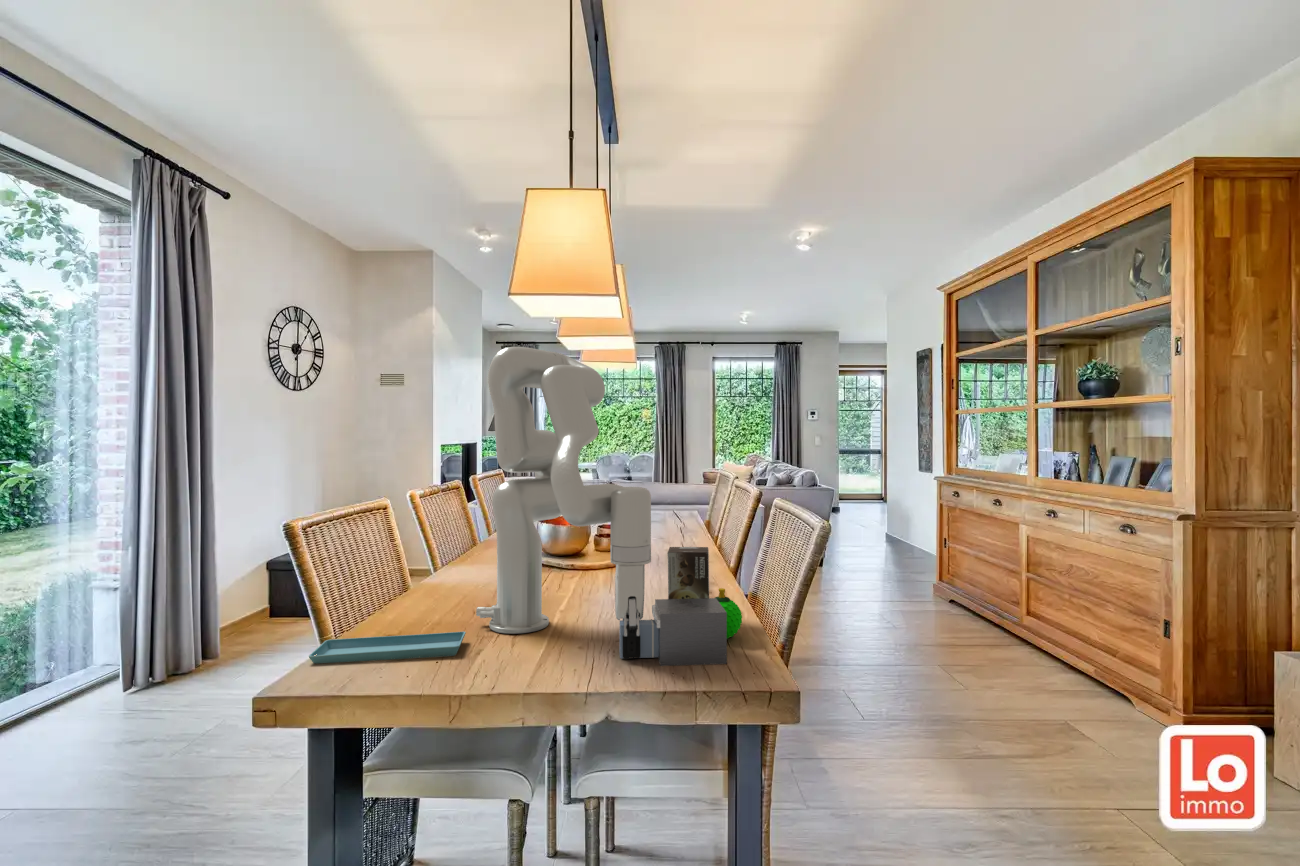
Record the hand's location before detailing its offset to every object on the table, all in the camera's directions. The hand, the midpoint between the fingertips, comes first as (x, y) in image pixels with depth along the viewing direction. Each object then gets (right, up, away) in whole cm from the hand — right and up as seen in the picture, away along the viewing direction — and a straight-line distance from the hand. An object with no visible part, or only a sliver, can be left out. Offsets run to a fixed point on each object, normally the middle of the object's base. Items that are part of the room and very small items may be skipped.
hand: (630, 651), depth 113 cm
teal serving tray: (-45, -2, +2) cm, 45 cm away
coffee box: (+12, -1, +22) cm, 25 cm away
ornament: (+18, -1, +11) cm, 21 cm away
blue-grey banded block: (+5, -1, 0) cm, 5 cm away
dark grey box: (+11, -1, +1) cm, 11 cm away
